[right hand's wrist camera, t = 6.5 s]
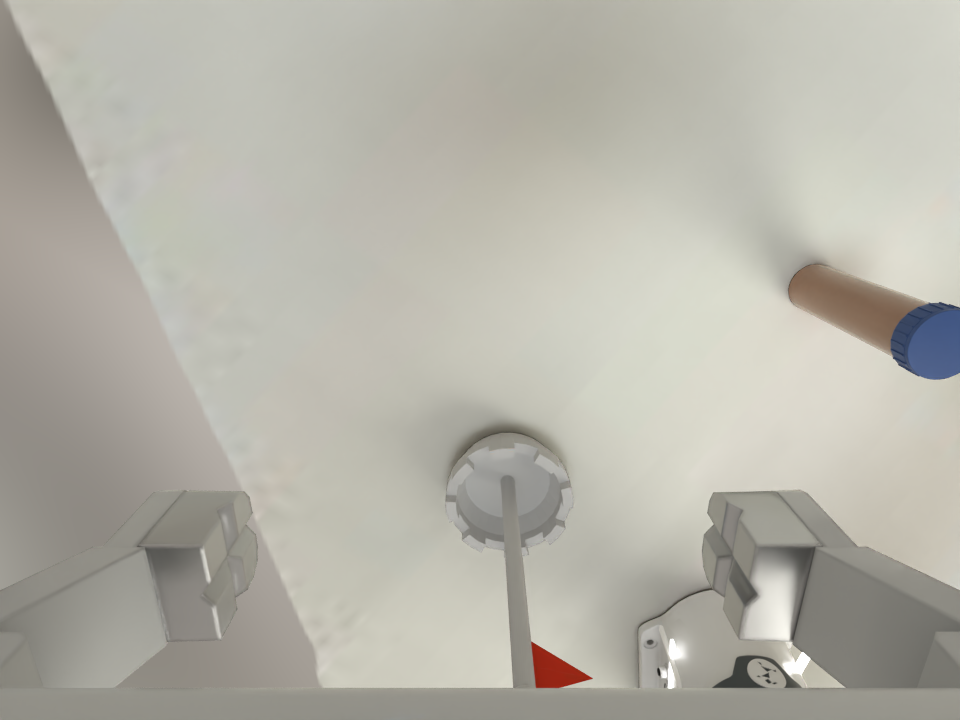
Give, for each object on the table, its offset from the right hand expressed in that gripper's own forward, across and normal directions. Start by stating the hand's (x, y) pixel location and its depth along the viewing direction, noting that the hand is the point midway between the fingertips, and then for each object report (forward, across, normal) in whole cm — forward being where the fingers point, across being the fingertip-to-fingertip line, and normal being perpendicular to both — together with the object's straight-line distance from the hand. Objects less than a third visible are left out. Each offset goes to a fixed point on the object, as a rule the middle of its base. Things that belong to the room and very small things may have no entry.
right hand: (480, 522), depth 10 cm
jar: (+48, -33, +7) cm, 58 cm away
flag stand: (+48, -3, +28) cm, 56 cm away
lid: (+31, -33, +7) cm, 45 cm away
